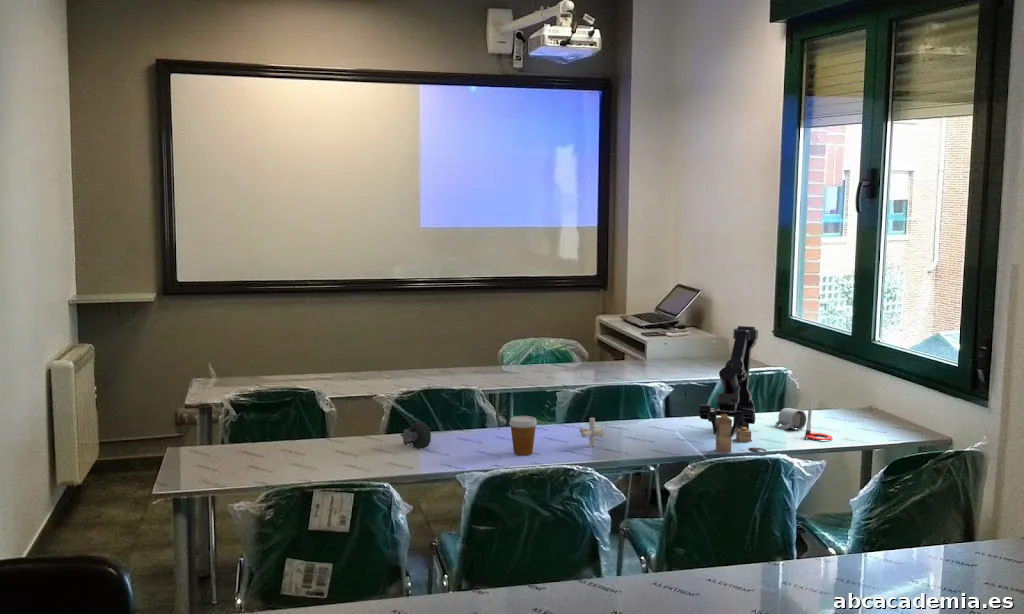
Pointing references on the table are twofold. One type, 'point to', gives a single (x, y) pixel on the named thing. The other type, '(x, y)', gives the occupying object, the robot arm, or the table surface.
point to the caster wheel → (417, 435)
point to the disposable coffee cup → (523, 434)
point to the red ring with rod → (808, 428)
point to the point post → (723, 434)
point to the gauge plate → (754, 448)
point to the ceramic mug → (791, 419)
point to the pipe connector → (592, 432)
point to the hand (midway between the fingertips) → (723, 435)
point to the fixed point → (743, 434)
